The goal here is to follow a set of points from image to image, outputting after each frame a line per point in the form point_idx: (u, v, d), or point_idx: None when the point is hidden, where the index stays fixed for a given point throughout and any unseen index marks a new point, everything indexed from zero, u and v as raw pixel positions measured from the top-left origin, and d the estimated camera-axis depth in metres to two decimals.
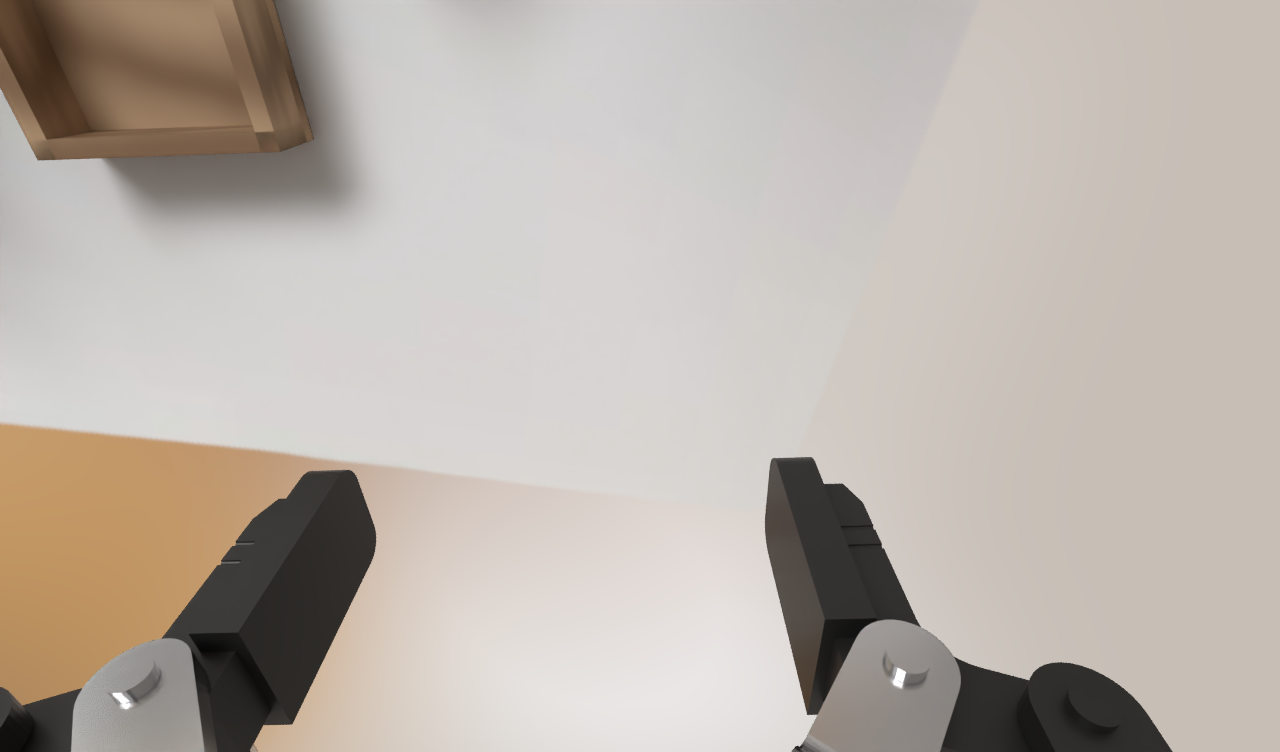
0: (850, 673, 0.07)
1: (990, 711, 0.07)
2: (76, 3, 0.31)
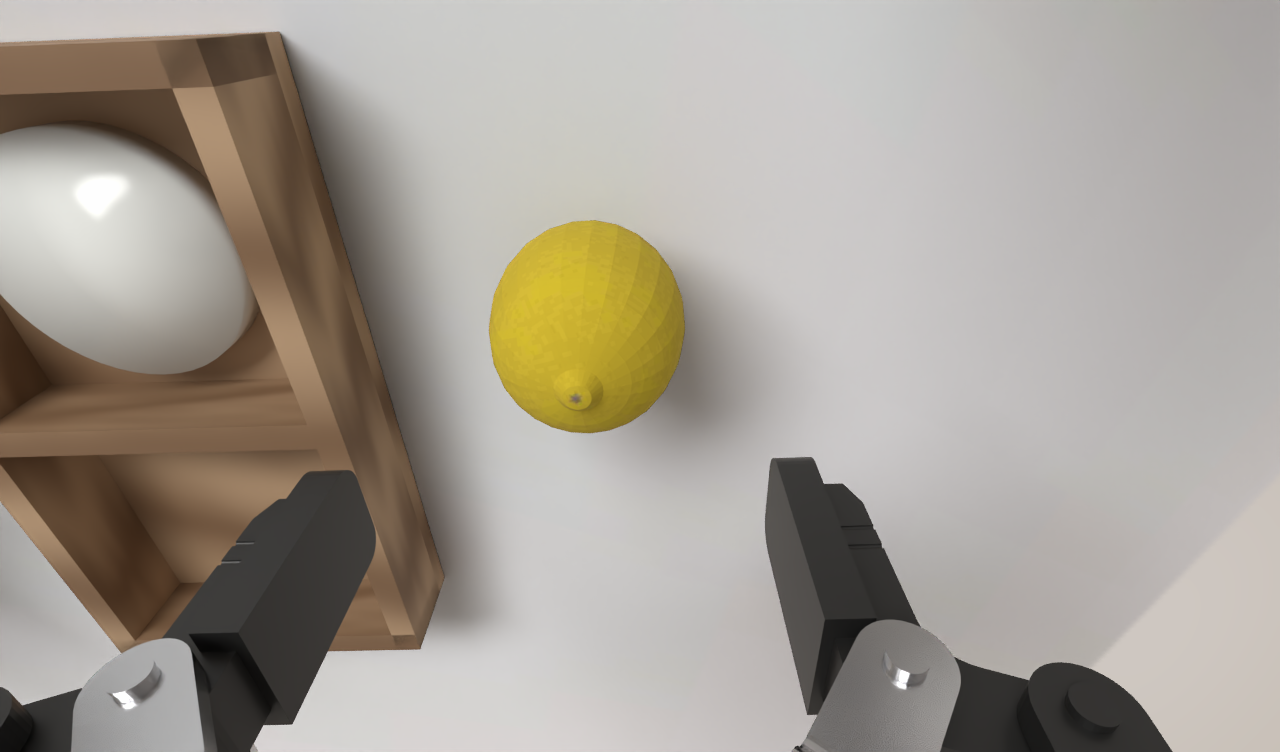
0: (850, 673, 0.07)
1: (990, 711, 0.07)
2: (170, 483, 0.25)
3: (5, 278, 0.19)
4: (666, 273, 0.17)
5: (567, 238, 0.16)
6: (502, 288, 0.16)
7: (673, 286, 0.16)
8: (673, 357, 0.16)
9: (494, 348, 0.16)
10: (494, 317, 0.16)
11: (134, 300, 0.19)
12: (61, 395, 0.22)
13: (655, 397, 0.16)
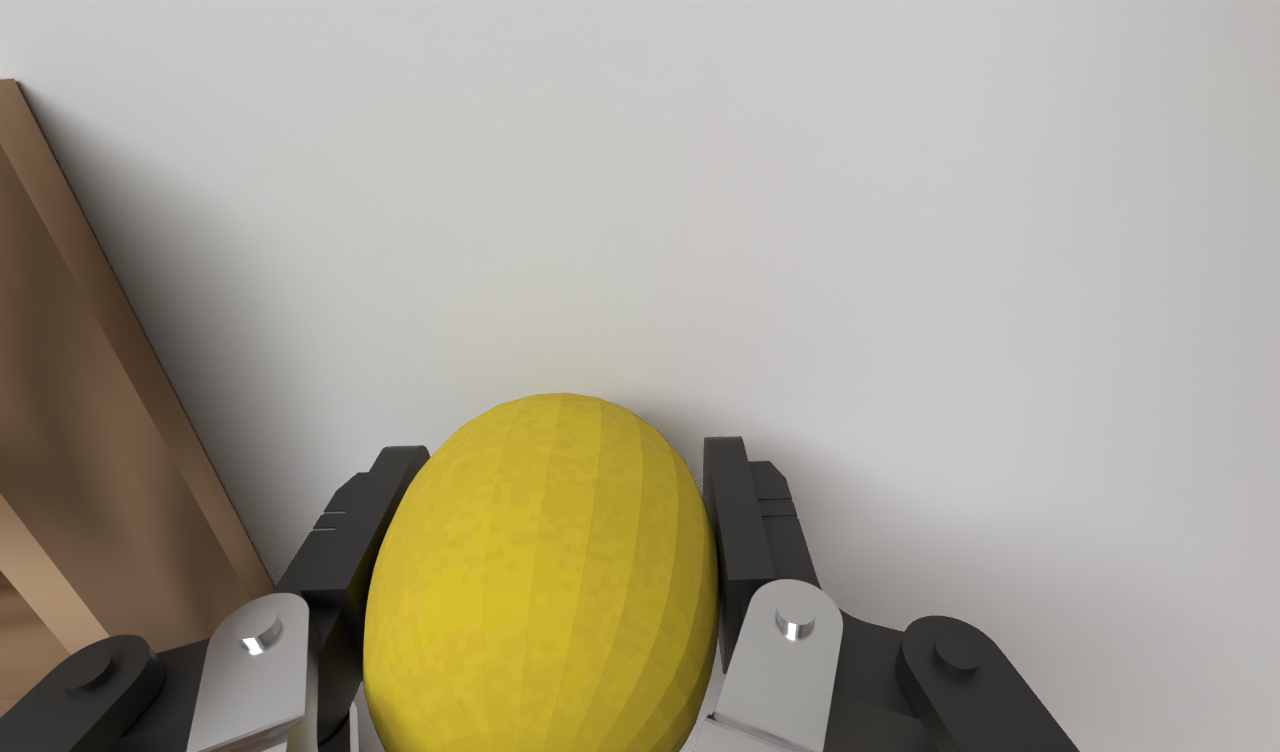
0: (742, 625, 0.08)
1: (872, 660, 0.08)
2: None
3: None
4: (689, 512, 0.09)
5: (504, 469, 0.08)
6: (383, 562, 0.08)
7: (702, 536, 0.09)
8: (705, 689, 0.08)
9: (364, 686, 0.08)
10: (366, 623, 0.08)
11: None
12: None
13: None
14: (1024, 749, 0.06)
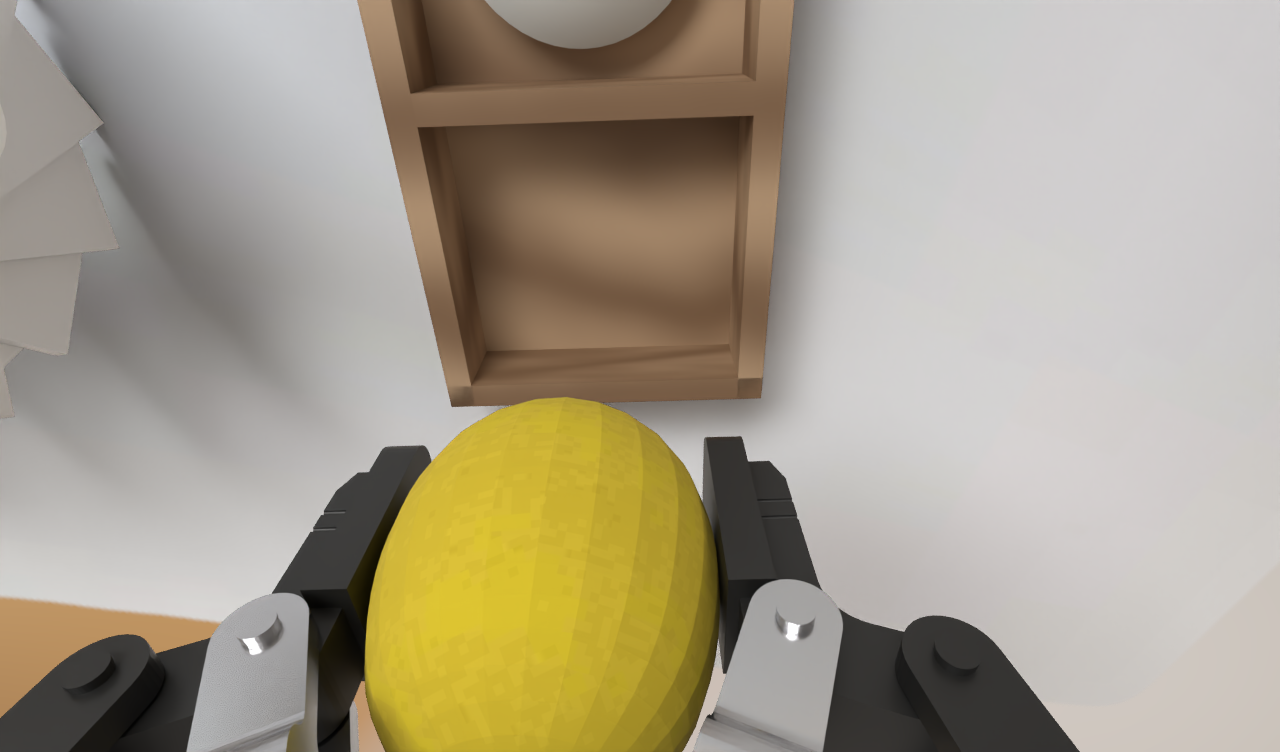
0: (742, 625, 0.08)
1: (872, 661, 0.08)
2: (517, 217, 0.24)
3: None
4: (689, 517, 0.09)
5: (505, 474, 0.08)
6: (385, 567, 0.08)
7: (702, 541, 0.09)
8: (705, 692, 0.08)
9: (366, 691, 0.08)
10: (367, 627, 0.08)
11: None
12: (458, 85, 0.21)
13: None
14: (1024, 749, 0.06)
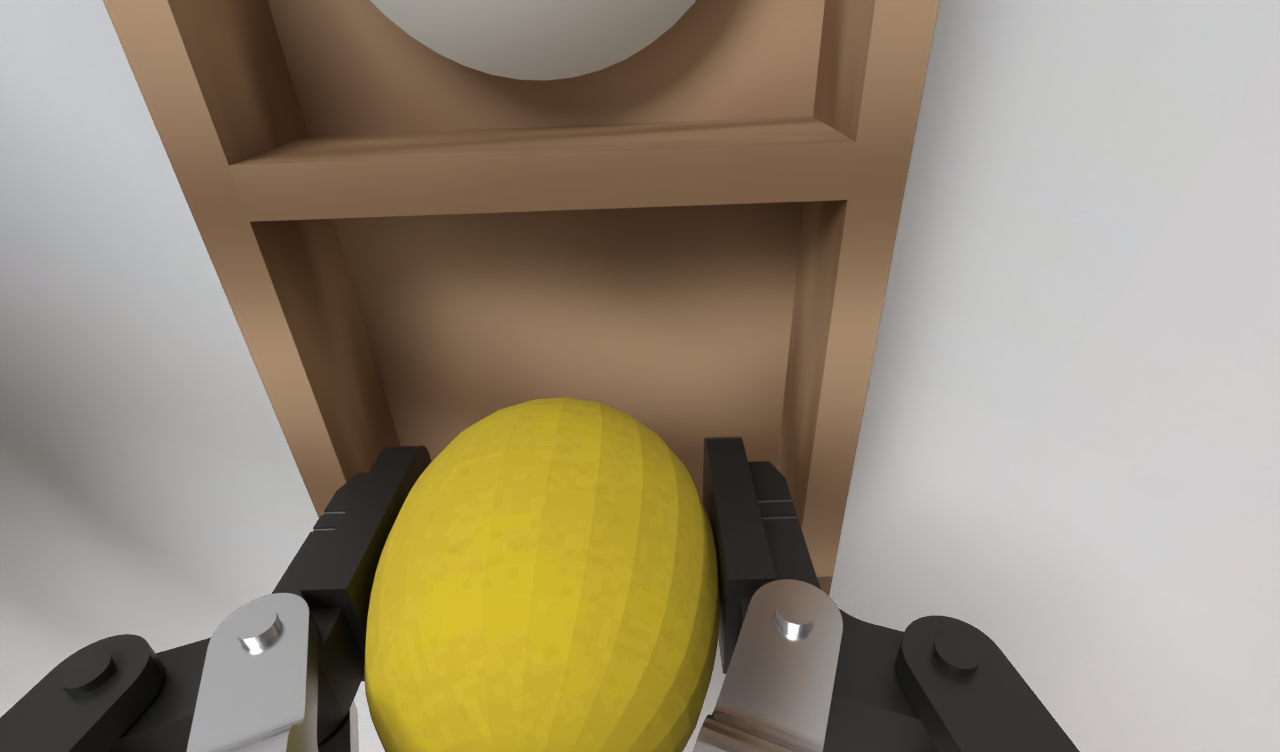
0: (742, 625, 0.08)
1: (872, 661, 0.08)
2: (453, 334, 0.16)
3: None
4: (689, 517, 0.09)
5: (505, 475, 0.08)
6: (385, 567, 0.08)
7: (702, 541, 0.09)
8: (705, 693, 0.08)
9: (366, 691, 0.08)
10: (368, 627, 0.08)
11: None
12: (337, 140, 0.13)
13: None
14: (1024, 749, 0.06)
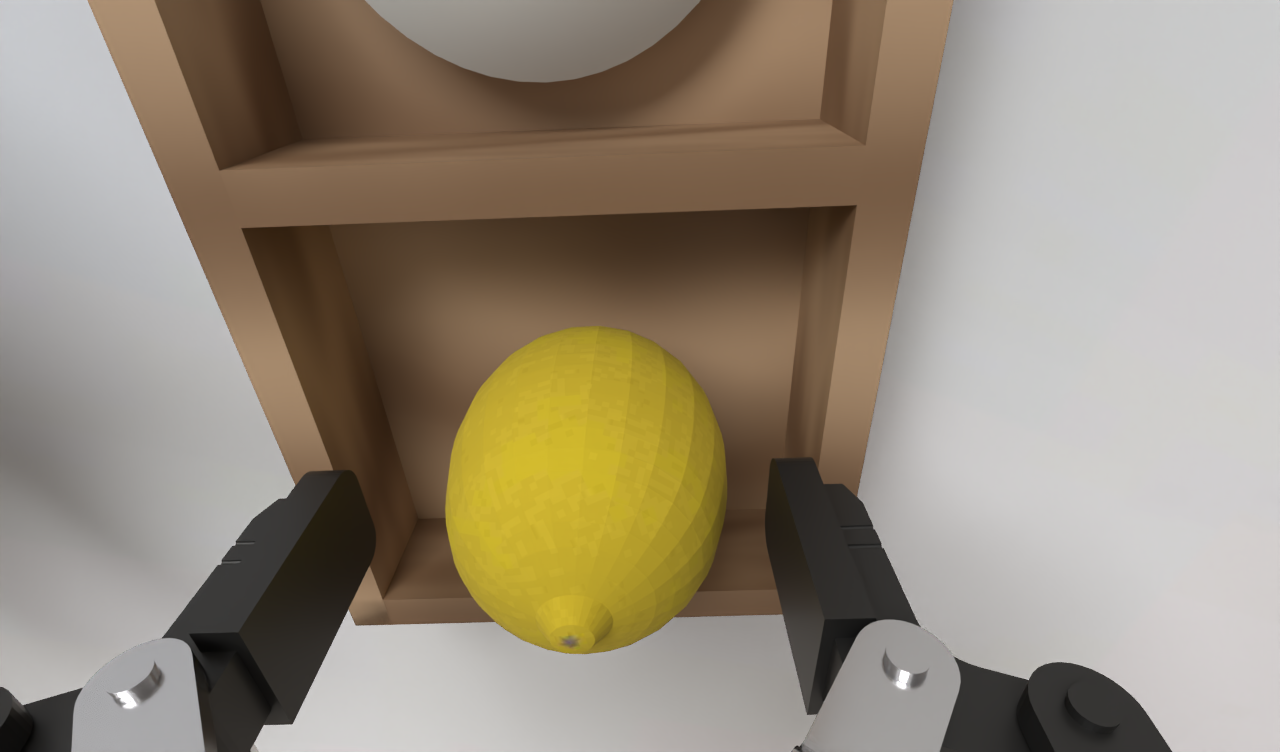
0: (850, 673, 0.07)
1: (990, 711, 0.07)
2: (452, 340, 0.15)
3: None
4: (703, 412, 0.11)
5: (558, 369, 0.11)
6: (463, 443, 0.11)
7: (713, 431, 0.11)
8: (715, 545, 0.11)
9: (449, 536, 0.10)
10: (450, 488, 0.11)
11: None
12: (332, 144, 0.12)
13: (688, 601, 0.11)
14: None
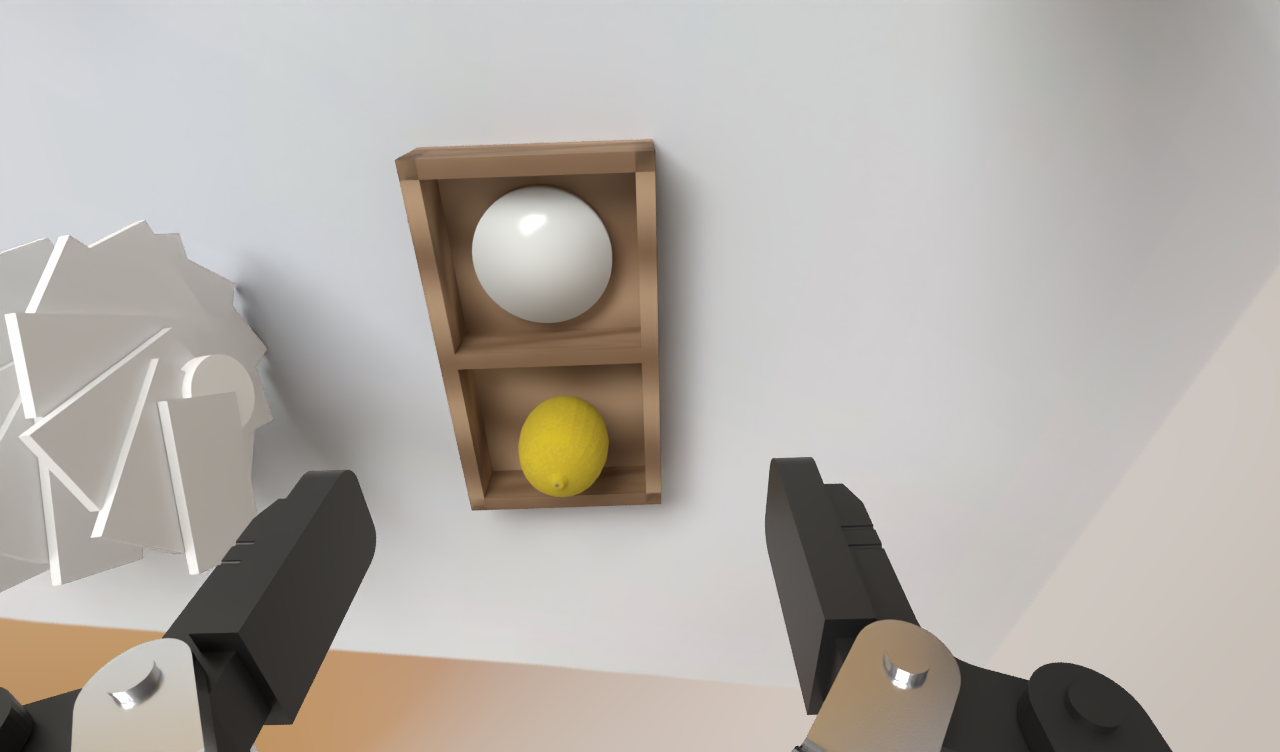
0: (850, 673, 0.07)
1: (990, 711, 0.07)
2: (512, 398, 0.41)
3: (484, 267, 0.35)
4: (598, 424, 0.37)
5: (553, 412, 0.36)
6: (525, 434, 0.36)
7: (601, 430, 0.37)
8: (600, 464, 0.36)
9: (521, 461, 0.36)
10: (521, 447, 0.36)
11: (549, 279, 0.35)
12: (479, 337, 0.38)
13: (592, 481, 0.36)
14: None
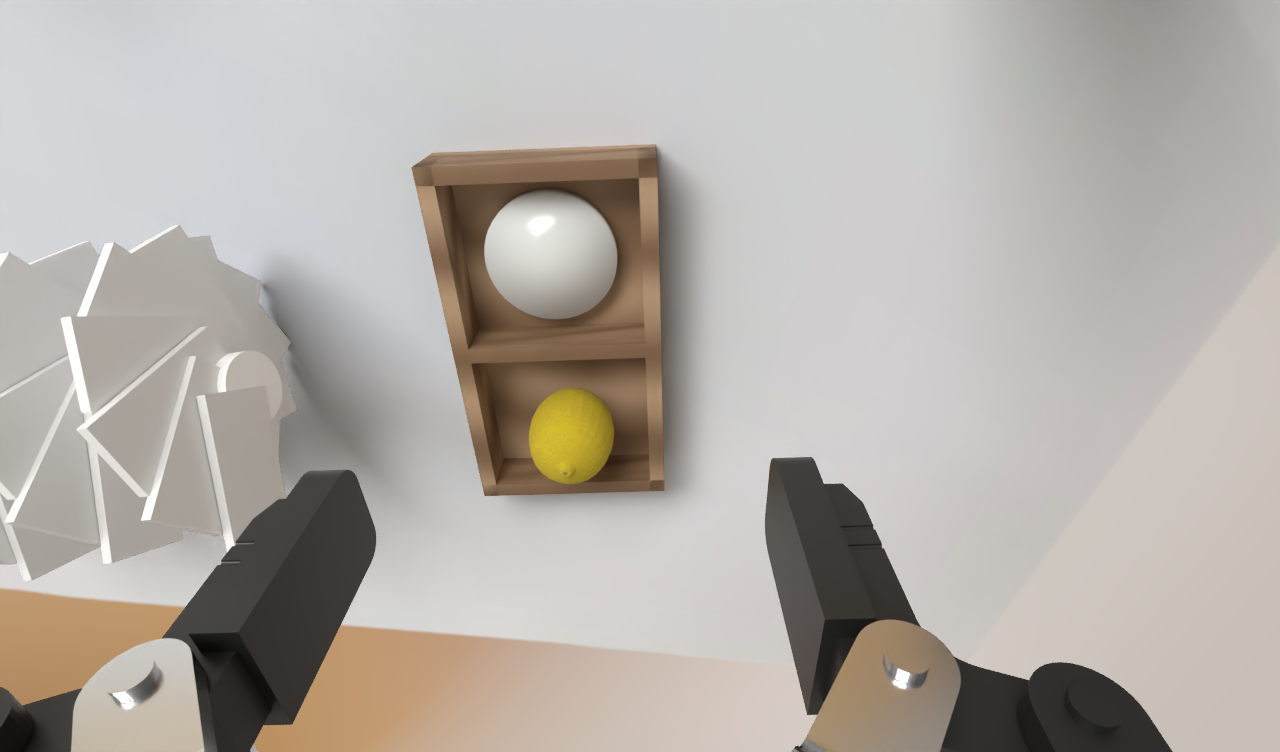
0: (850, 673, 0.07)
1: (990, 711, 0.07)
2: (522, 389, 0.43)
3: (496, 266, 0.37)
4: (604, 415, 0.39)
5: (561, 404, 0.38)
6: (535, 424, 0.38)
7: (607, 421, 0.39)
8: (606, 453, 0.38)
9: (532, 450, 0.38)
10: (531, 437, 0.38)
11: (557, 278, 0.37)
12: (491, 332, 0.40)
13: (599, 469, 0.38)
14: None
